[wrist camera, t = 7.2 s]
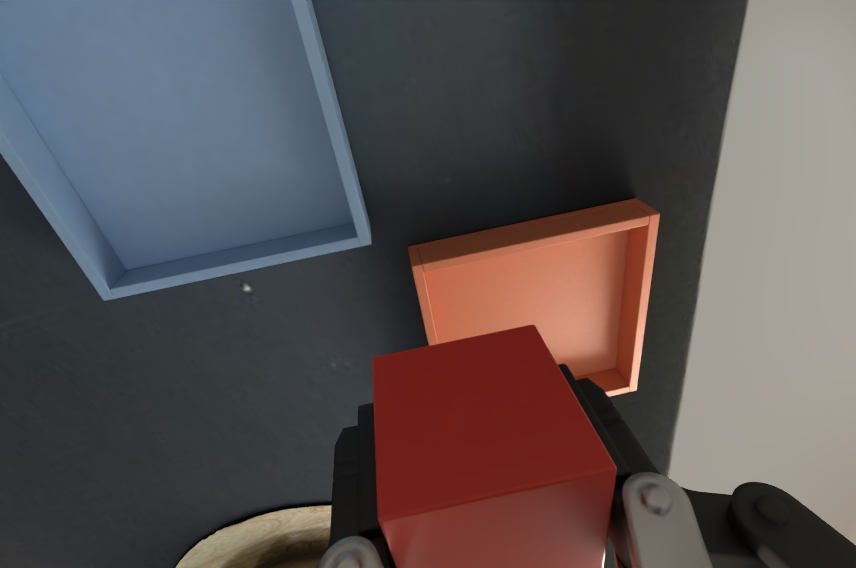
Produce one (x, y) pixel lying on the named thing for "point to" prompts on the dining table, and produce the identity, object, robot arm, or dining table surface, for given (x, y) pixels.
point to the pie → (267, 541)
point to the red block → (487, 458)
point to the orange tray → (549, 286)
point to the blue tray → (177, 136)
